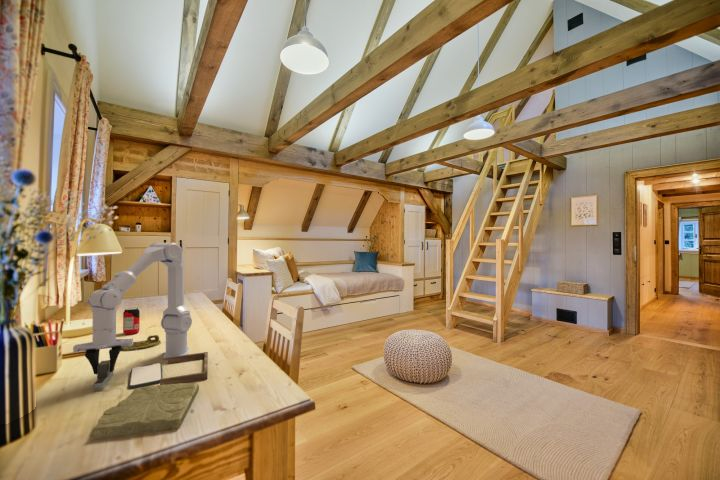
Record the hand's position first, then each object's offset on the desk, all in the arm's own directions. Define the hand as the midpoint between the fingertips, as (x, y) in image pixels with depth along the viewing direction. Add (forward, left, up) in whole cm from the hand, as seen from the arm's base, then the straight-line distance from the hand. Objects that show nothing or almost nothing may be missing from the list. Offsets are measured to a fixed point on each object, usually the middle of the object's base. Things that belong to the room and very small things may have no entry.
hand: (104, 371), depth 99 cm
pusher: (0, 0, -4) cm, 4 cm away
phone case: (0, +11, -4) cm, 12 cm away
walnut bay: (0, +22, -3) cm, 22 cm away
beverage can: (-60, -4, -4) cm, 60 cm away
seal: (-36, +3, -4) cm, 36 cm away
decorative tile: (+26, +16, -4) cm, 31 cm away
